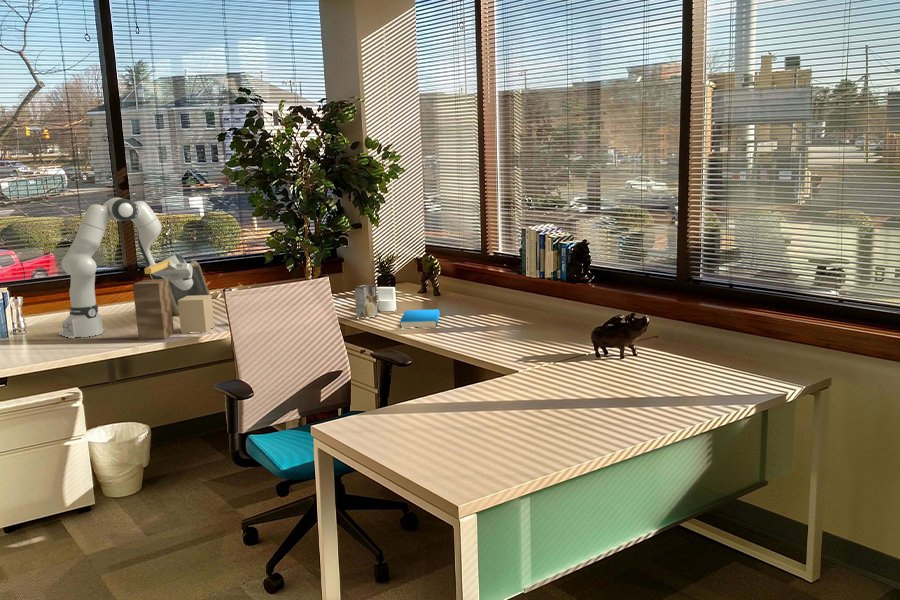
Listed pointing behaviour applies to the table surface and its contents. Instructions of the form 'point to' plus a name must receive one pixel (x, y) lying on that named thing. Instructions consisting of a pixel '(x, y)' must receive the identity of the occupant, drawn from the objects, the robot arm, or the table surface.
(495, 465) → the table surface
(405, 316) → the book
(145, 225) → the robot arm
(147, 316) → the walnut post
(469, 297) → the table surface
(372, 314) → the coffee box
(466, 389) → the table surface
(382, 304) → the white recessed box
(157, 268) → the tan wooden beam
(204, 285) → the grey open box
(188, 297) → the cardboard box
